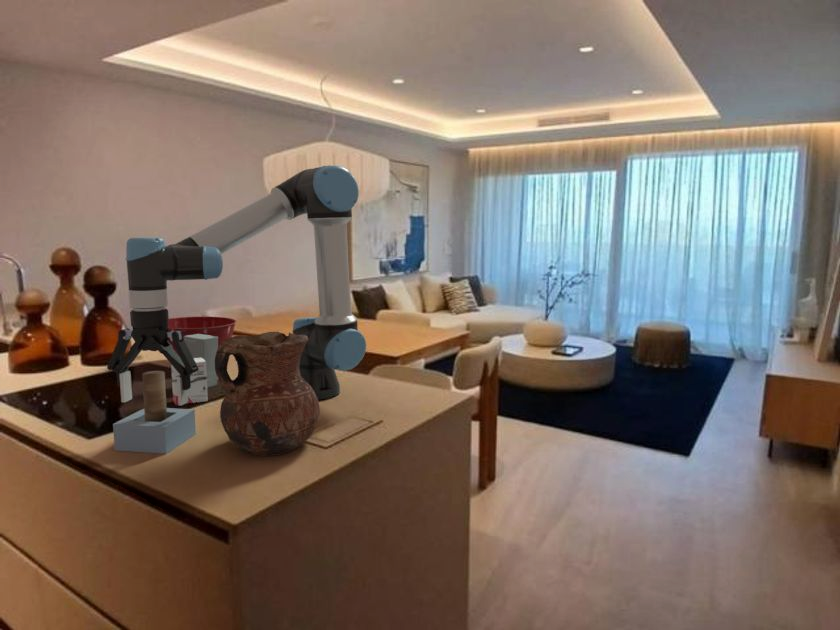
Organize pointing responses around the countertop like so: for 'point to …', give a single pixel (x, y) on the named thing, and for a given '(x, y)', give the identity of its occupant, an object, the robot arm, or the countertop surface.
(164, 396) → the peg
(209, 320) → the mixing bowl
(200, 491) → the countertop surface
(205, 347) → the skincare box
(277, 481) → the countertop surface
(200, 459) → the countertop surface
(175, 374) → the ink box
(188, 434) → the socket
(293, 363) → the jug
